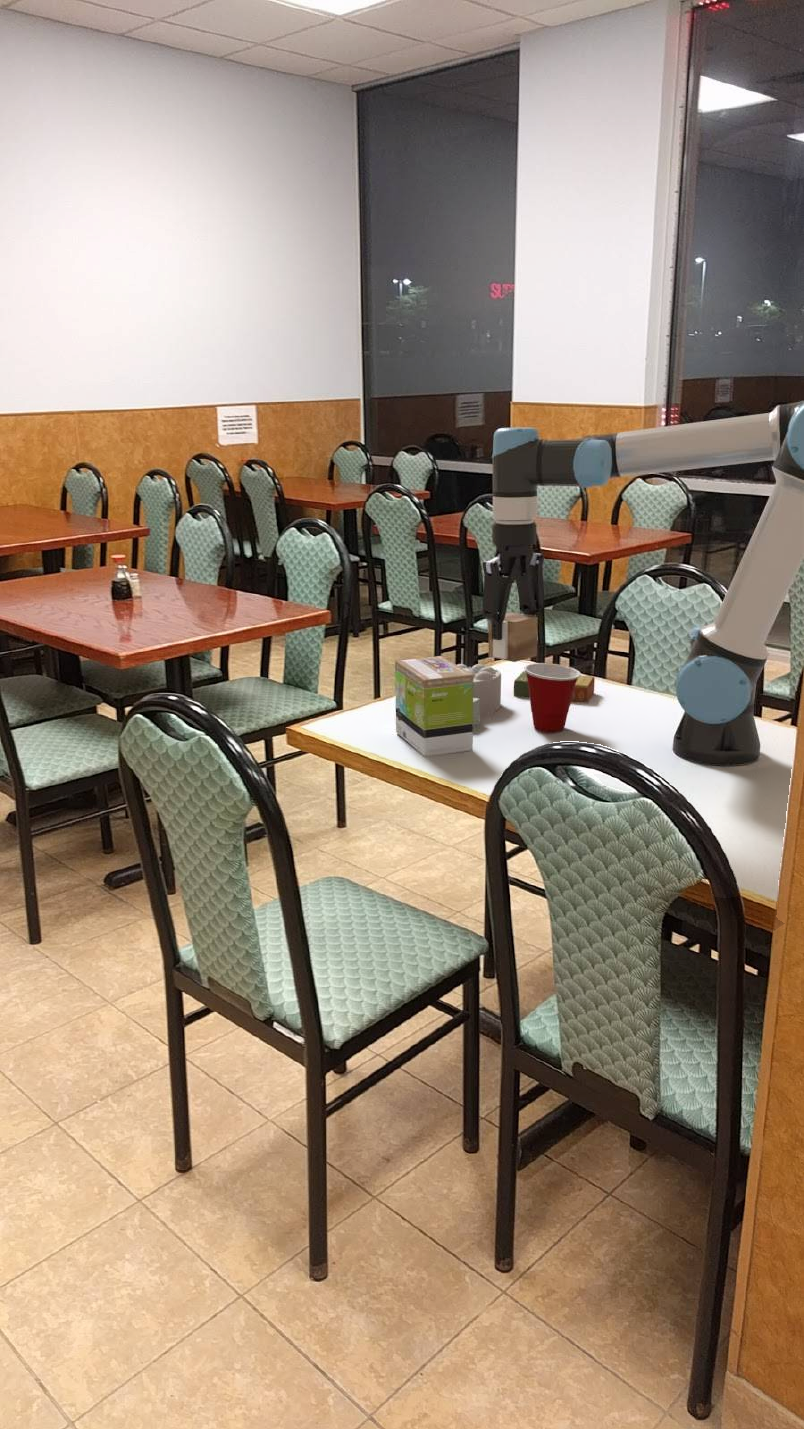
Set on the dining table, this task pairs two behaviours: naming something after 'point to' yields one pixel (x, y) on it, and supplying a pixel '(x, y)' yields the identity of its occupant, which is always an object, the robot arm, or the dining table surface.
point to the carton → (580, 692)
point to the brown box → (518, 637)
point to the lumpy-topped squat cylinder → (486, 687)
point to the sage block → (476, 710)
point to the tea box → (434, 705)
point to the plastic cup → (550, 694)
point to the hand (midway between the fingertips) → (512, 653)
